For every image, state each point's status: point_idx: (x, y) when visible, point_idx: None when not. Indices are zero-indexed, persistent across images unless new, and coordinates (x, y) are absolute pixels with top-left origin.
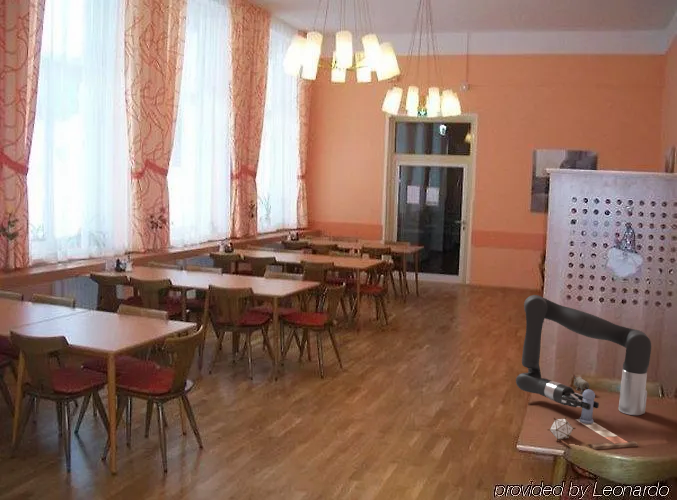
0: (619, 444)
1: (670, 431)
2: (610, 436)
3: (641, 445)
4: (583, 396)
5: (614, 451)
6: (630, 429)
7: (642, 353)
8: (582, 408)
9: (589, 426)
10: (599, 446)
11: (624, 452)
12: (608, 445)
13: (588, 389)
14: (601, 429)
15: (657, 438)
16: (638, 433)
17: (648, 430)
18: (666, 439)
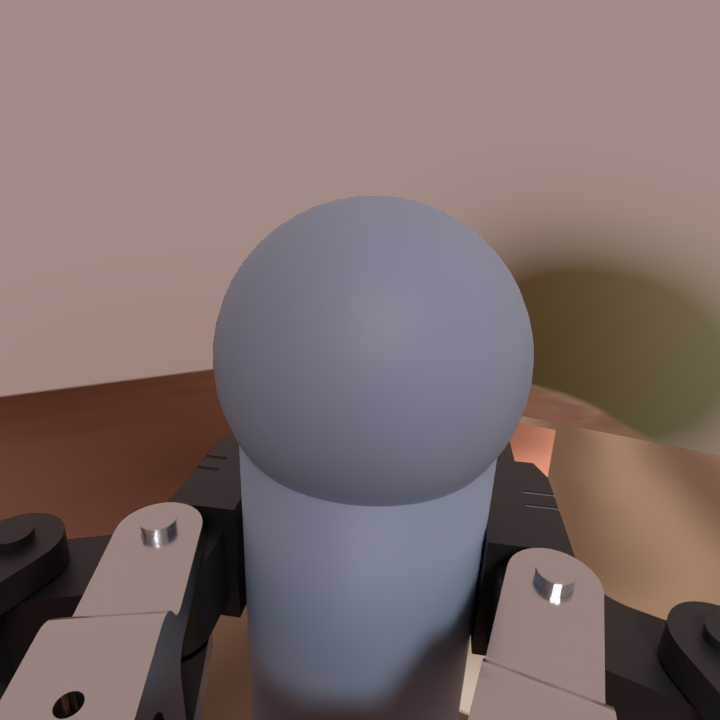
0: (532, 419)
1: (2, 398)
2: None
3: None
4: (523, 410)
5: (608, 429)
6: (123, 497)
7: None
8: (455, 684)
9: (476, 664)
10: (701, 453)
11: (556, 410)
12: (622, 436)
13: (395, 199)
14: None
15: (192, 399)
16: (180, 453)
17: (61, 444)
18: (173, 383)
